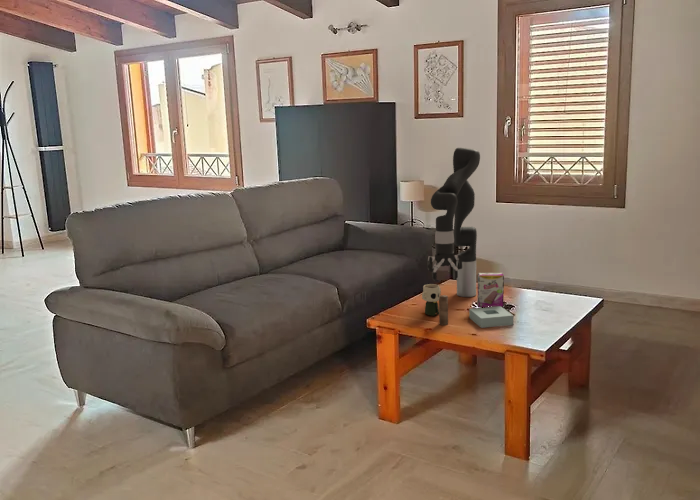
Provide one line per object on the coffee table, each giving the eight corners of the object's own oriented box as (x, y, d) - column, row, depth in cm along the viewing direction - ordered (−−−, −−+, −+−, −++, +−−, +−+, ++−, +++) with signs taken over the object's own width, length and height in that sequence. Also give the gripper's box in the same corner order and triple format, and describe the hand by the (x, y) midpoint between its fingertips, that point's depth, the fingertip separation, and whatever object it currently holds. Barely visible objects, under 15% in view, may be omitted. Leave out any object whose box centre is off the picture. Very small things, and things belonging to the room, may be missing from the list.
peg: (438, 323, 275) (437, 295, 273) (446, 322, 276) (446, 294, 273) (440, 325, 272) (440, 297, 269) (449, 324, 272) (448, 297, 270)
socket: (469, 317, 280) (469, 308, 280) (500, 315, 283) (500, 306, 282) (481, 327, 267) (481, 318, 266) (513, 324, 269) (513, 315, 268)
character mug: (428, 319, 281) (428, 289, 278) (417, 315, 287) (416, 286, 284) (446, 313, 287) (446, 285, 285) (435, 310, 293) (434, 282, 290)
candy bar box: (478, 311, 289) (478, 275, 286) (477, 308, 294) (477, 272, 291) (503, 311, 288) (504, 274, 285) (502, 307, 293) (502, 272, 290)
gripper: (458, 238, 272) (458, 276, 275) (425, 241, 270) (425, 279, 273) (464, 241, 265) (464, 280, 268) (430, 244, 262) (430, 283, 265)
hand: (444, 280), depth 270 cm, fingers open, 8 cm apart
